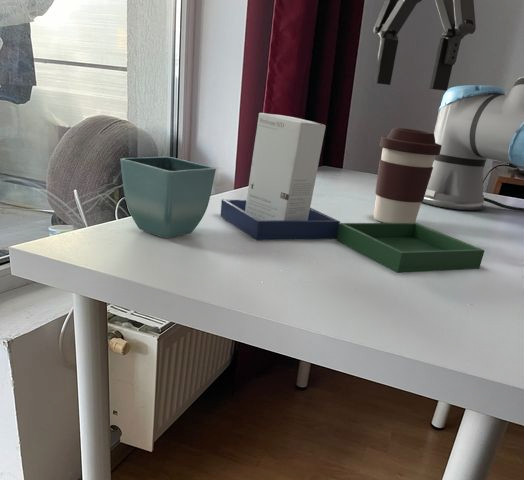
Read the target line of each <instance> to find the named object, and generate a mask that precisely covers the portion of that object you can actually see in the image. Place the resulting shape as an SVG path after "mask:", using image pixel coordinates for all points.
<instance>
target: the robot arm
mask: <svg viewBox="0 0 524 480" xmlns="http://www.w3.org/2000/svg"><path fill="white" fill-rule="evenodd" d="M422 1H423V0H384V3H383V5H382V7H381V9H380V12H379V15H378V17H377V19H376V22H375V24H374V25H373V29H372V30H373V33H374V34H377V35H378V36H379V38H380V41H379V47H378V54H377V66H376V71H375V77H374V84H378V85H387V86H391V83H392V77H393V72H394V67H395V62H396V55H397V52H398V51H397V50H398V45H399V37H398V34H399V33H400V31H401V29H402V28H403V26H404V25H405V23H406V22H407V20H408V18H409V17H410V15H411V14H412V13H413V12H414V11H413V10H414V9H415V8H416V6H417V4H419V3H421V2H422ZM434 1H435V5H436V7H437V11H438V14H439V19H440V22H441V25H442V28H443V31H444V32H442V34H441V37H440V38H439V41H438V46H437V50H436V56H435V61H434V65H433V69H432V74H431V79H430V84H429V89H430V90H436V91H445V92H444V93H443V96H442V99H441V103H440V106H439V108H438V111H437V112H438V113H437V117H436V122H435V125H434V131H433V133H434V136H435V143H437V144H440V145H441V146H442V147H441V151H440V154H439V155H436V156H435V159H434V162H433V166H432V167H433V170H432V173H431V177H430V180H429V183H428V186H427V190H426V193H425V196H424V199H423V201H422V202H421V203H424V204H427V205H430V206H435V207H438V208H439V207H440V208H445V209H452V210H459V211H479V210H482V209H483V205H484V202H486V203H488V204H489V203H490V204H492V205H495V206H498V207H499V208H502V209H506V210H510V211H518V212H524V207H518V206H511V205H507V204H503V203H501V202H498V201H496V200H493V199H490V198H487V197H485V195H484V170H485V165H486V162H487V160H488V159H489V160H491V161H498V162H502V163H506V164H507V163H508V164H511V165H514V166H516V167H522V168H523V167H524V75H523V76H520V77H518V78H517V79H516V81H515V82H514V84H513V85H512V88H511V90H510V92H509V93H508V95H507V94H506V90H505V88H504V87H502V86H497V85H484V84H483V85H481V84H480V85H477V84H474V85H473V84H472V85H471V84H470V85H456V86H453V87H449V83H450V79H451V75H452V70H453V66H455V64H456V62H457V59H458V54H459V50H460V45H461V42H462V40H463V39H464V37H465V36H468V35H473V34H474V33H475V32H476V29H477V27H476V26H477V25H476V14H475V2H474V0H434Z"/></svg>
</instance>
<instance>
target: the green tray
mask: <svg viewBox="0 0 524 480" xmlns="http://www.w3.org/2000/svg"><path fill="white" fill-rule="evenodd" d="M335 240H336V242H338V243H340V244H342V245H344V246H346V247H347V248H348V249H349V248H350V249H351V250H353V251H355V252H357V253H359V254H361V255H363V256H365V257H366V258H368V259H371V260H372V261H374V262H376V263H378V264H380V265H381V266H384V267H386V268H387V269H389V270H391V271H393V272H395V273H398V274H400V273H401V274H404V273H421V272H422V273H424V272H440V271H442V272H443V271H462V270H479V269H481V264H482V261H483V258H484V255H485V249H483V248H480V247H479V246H478V247H477V246H476V245H472V244H470V243H467V242H466V241H462V240H460V239H457V238H455V237H453V236H450V235H448V234H445V233H442V232H440V231H438V230H435V229H432V228H430V227H427V226H424V225H422V224H420V223H417V222H415V223H383V222H340V223H339V229H338V235H337V239H335Z"/></svg>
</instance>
